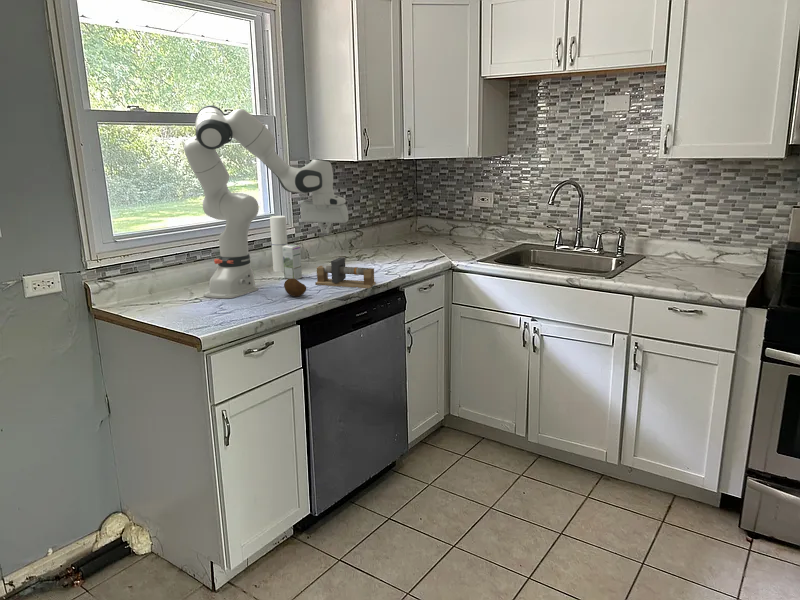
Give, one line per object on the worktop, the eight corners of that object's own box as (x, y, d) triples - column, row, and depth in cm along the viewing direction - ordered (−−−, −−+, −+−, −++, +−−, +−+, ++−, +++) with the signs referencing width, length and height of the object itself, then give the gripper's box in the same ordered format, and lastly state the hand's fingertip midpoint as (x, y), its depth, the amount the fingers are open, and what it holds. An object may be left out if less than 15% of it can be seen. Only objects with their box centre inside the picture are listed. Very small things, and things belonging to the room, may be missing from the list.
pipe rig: (369, 288, 247) (368, 270, 245) (315, 284, 254) (314, 267, 252) (375, 283, 254) (375, 266, 252) (323, 280, 261) (322, 263, 259)
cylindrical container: (270, 271, 281) (266, 217, 274) (279, 268, 287) (276, 215, 281) (282, 272, 278) (278, 218, 271) (292, 269, 284) (288, 216, 277)
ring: (337, 283, 250) (336, 261, 248) (331, 282, 251) (331, 261, 248) (345, 278, 258) (345, 257, 256) (340, 277, 259) (339, 257, 257)
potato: (298, 300, 230) (297, 282, 229) (277, 295, 237) (276, 278, 235) (311, 296, 236) (310, 278, 234) (290, 292, 242) (289, 275, 241)
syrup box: (302, 277, 268) (300, 245, 264) (293, 280, 263) (291, 247, 259) (292, 276, 270) (290, 244, 267) (283, 278, 266) (281, 246, 262)
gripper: (296, 200, 248) (299, 233, 251) (343, 200, 241) (344, 235, 245) (303, 198, 253) (305, 231, 257) (349, 199, 247) (350, 232, 251)
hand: (325, 233), depth 251 cm, fingers closed
